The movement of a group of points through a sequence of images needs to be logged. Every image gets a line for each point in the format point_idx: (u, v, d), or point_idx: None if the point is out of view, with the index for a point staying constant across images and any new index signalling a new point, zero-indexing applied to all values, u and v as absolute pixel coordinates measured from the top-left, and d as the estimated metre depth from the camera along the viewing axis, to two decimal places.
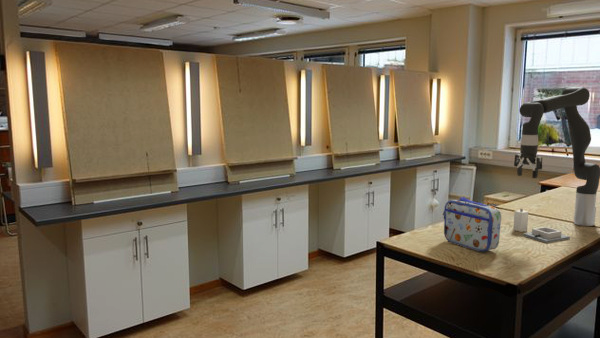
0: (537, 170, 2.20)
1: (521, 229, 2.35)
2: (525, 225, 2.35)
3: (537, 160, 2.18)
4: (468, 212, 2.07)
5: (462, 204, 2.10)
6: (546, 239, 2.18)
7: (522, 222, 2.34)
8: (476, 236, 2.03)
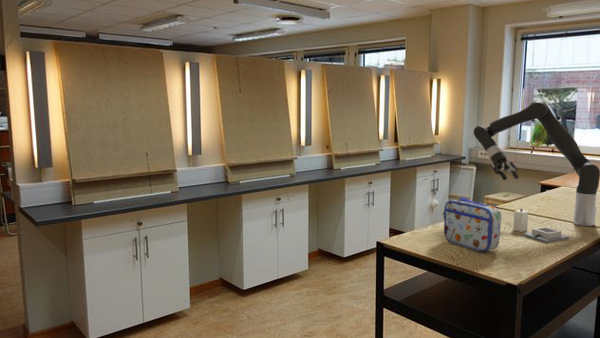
0: (500, 173, 2.47)
1: (521, 229, 2.35)
2: (525, 225, 2.35)
3: None
4: (468, 212, 2.07)
5: (462, 204, 2.10)
6: (546, 239, 2.18)
7: (522, 222, 2.34)
8: (476, 236, 2.03)
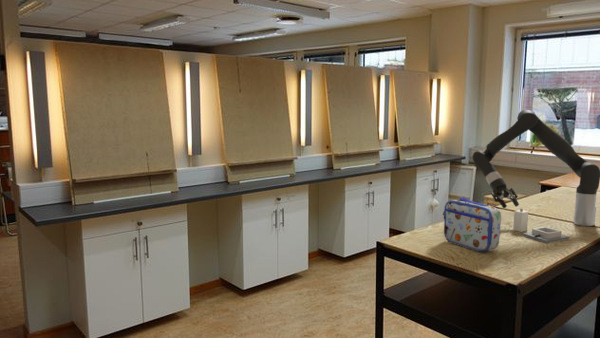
0: (500, 201, 2.42)
1: (521, 229, 2.35)
2: (525, 225, 2.35)
3: None
4: (468, 212, 2.07)
5: (462, 204, 2.10)
6: (546, 239, 2.18)
7: (522, 222, 2.34)
8: (476, 236, 2.03)
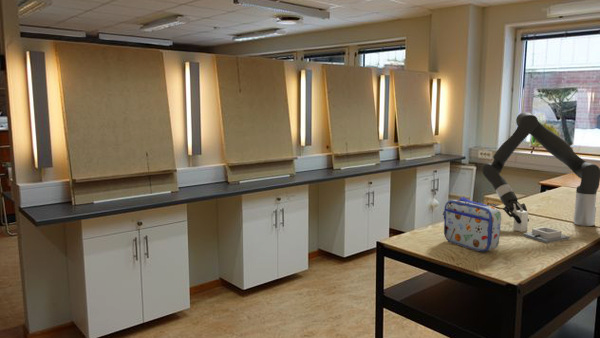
0: (514, 216, 2.36)
1: (521, 229, 2.35)
2: (525, 225, 2.35)
3: None
4: (468, 212, 2.07)
5: (462, 204, 2.10)
6: (546, 239, 2.18)
7: (522, 222, 2.34)
8: (476, 236, 2.03)
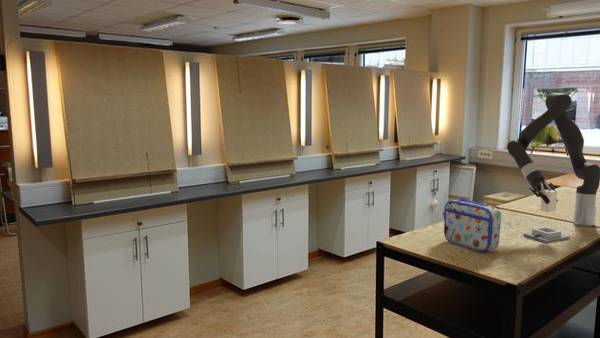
0: (542, 196, 2.21)
1: (549, 210, 2.20)
2: (553, 205, 2.21)
3: None
4: (468, 212, 2.07)
5: (462, 204, 2.10)
6: (546, 239, 2.18)
7: (550, 202, 2.20)
8: (476, 236, 2.03)
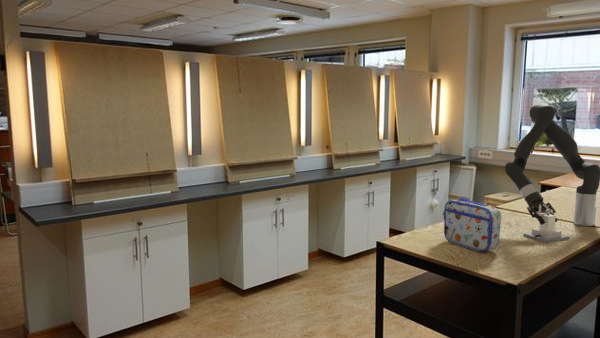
0: (537, 217, 2.22)
1: None
2: (552, 230, 2.23)
3: None
4: (468, 212, 2.07)
5: (462, 204, 2.10)
6: (546, 239, 2.18)
7: (549, 227, 2.21)
8: (476, 236, 2.03)
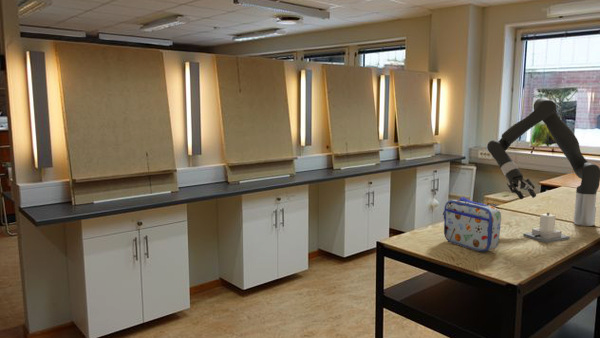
0: (516, 192, 2.33)
1: None
2: (552, 230, 2.23)
3: None
4: (468, 212, 2.07)
5: (462, 204, 2.10)
6: (546, 239, 2.18)
7: (549, 227, 2.21)
8: (476, 236, 2.03)
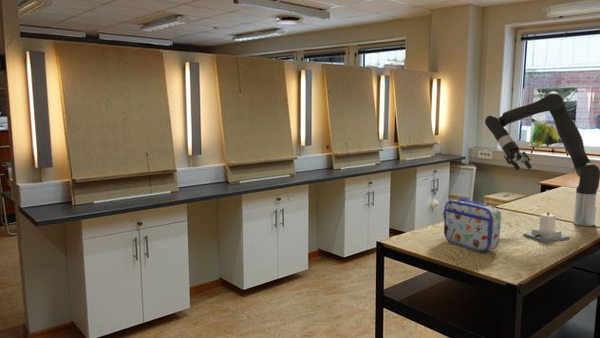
0: (513, 163, 2.42)
1: None
2: (552, 230, 2.23)
3: None
4: (468, 212, 2.07)
5: (462, 204, 2.10)
6: (546, 239, 2.18)
7: (549, 227, 2.21)
8: (476, 236, 2.03)
